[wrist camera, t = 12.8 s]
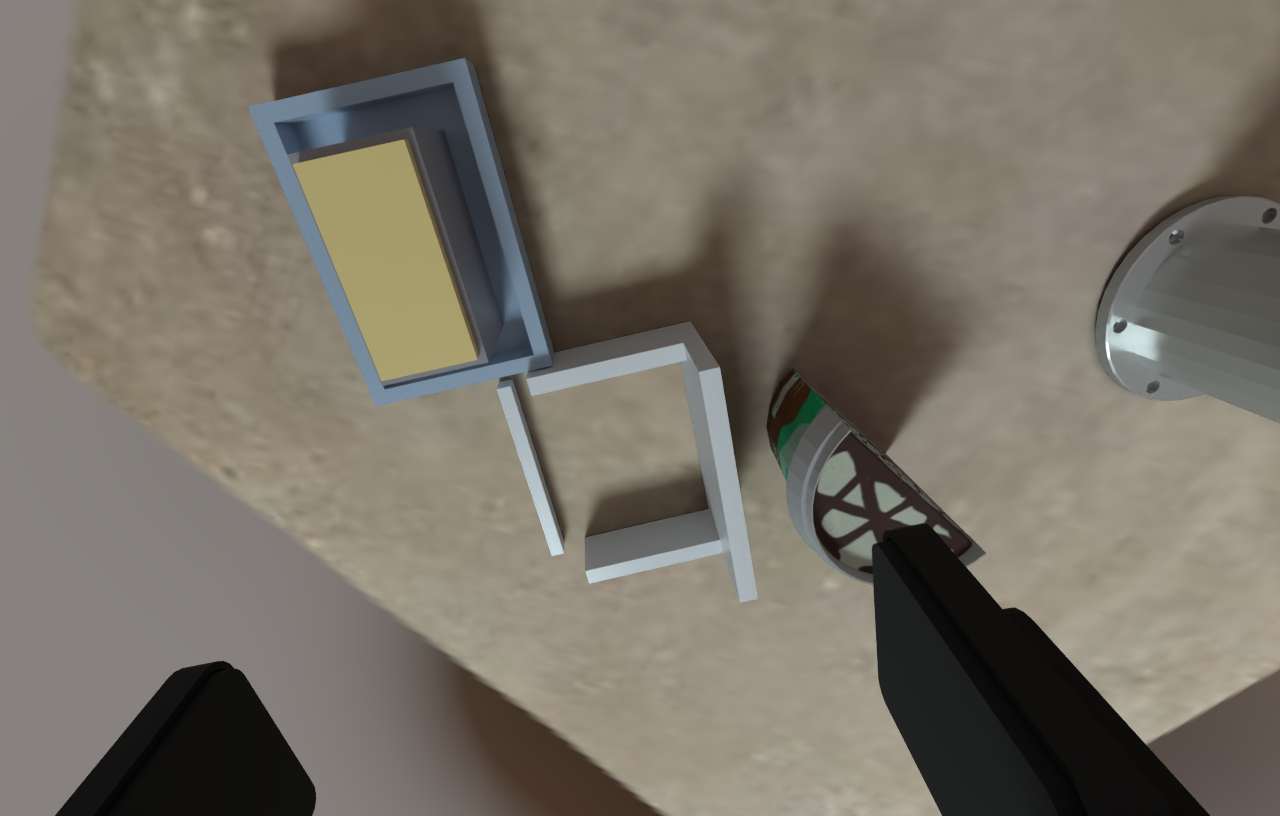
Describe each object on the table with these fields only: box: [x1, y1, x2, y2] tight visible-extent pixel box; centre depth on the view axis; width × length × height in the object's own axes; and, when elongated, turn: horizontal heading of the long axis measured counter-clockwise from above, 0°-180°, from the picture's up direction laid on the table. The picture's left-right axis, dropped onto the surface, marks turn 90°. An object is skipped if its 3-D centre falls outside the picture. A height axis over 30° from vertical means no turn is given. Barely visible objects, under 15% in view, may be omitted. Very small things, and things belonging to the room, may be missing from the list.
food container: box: [767, 369, 986, 585], centre depth 35 cm, size 12×6×10 cm, turn 48°
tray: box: [248, 58, 554, 406], centre depth 31 cm, size 10×15×3 cm, turn 12°
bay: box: [497, 321, 758, 603], centre depth 34 cm, size 12×14×8 cm
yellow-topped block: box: [287, 127, 504, 386], centre depth 28 cm, size 5×10×7 cm, turn 11°
